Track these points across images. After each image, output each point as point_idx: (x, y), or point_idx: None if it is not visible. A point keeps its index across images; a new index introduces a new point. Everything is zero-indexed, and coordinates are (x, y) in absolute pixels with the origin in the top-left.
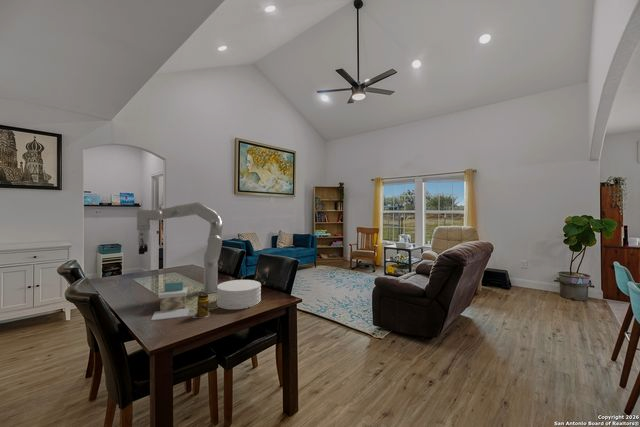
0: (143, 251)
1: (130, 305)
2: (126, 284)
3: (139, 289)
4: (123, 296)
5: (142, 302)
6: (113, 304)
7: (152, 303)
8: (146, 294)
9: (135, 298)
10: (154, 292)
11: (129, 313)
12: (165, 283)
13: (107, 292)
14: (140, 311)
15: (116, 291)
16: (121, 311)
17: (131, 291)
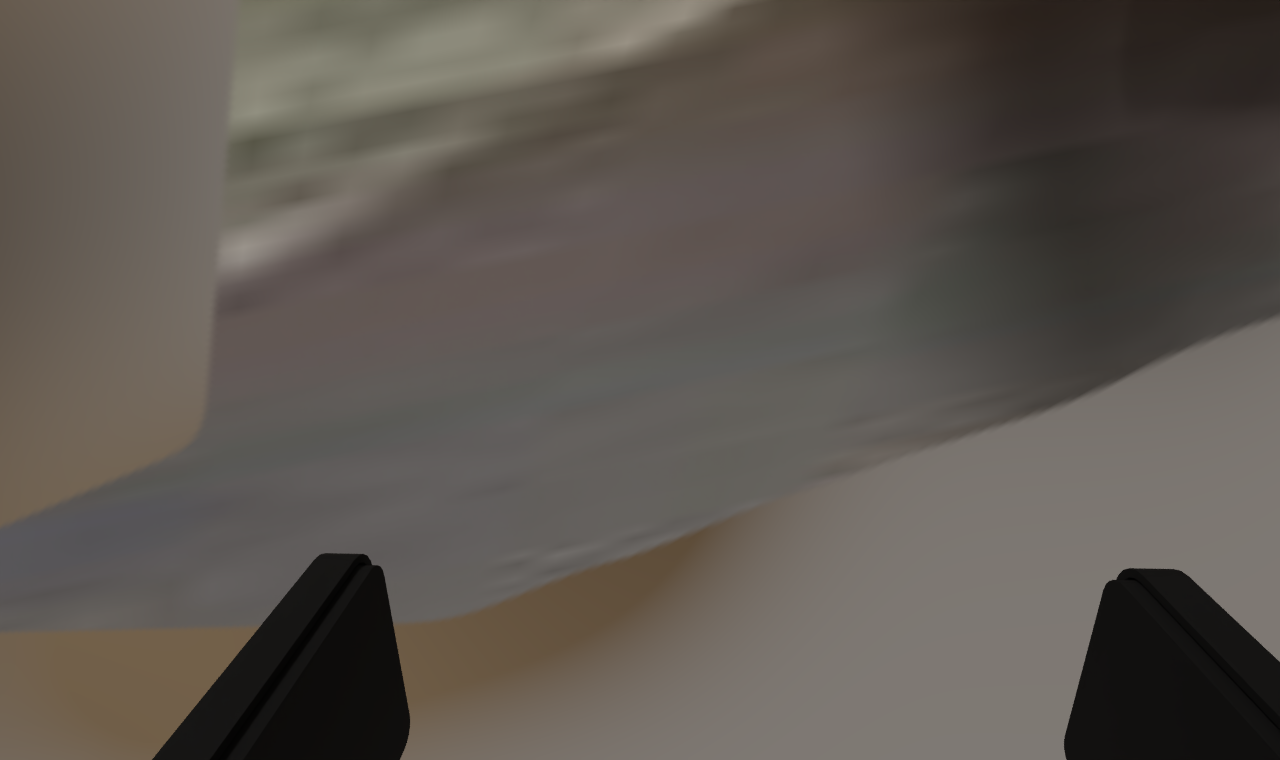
0: (1260, 702)
1: (957, 307)
2: (51, 533)
3: (287, 356)
4: (560, 453)
5: (891, 202)
6: (839, 473)
7: (994, 67)
8: (539, 227)
9: (684, 316)
10: (464, 144)
11: (1271, 251)
12: None
13: None
14: (1267, 147)
15: None
16: (1143, 345)
17: (365, 421)
